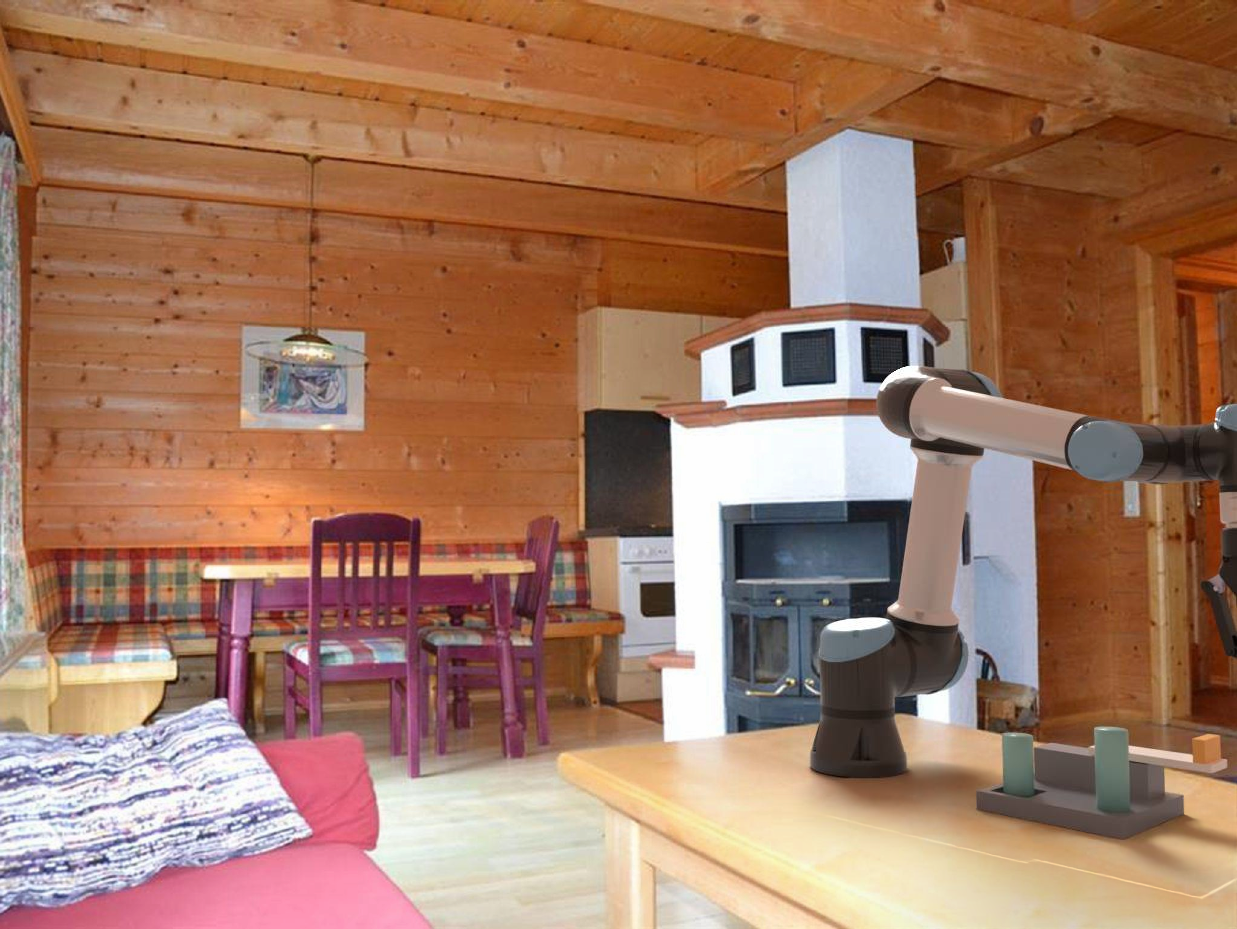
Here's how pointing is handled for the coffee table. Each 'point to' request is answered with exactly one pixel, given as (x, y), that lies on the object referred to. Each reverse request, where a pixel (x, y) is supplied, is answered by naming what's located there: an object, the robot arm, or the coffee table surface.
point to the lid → (1182, 755)
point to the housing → (1091, 789)
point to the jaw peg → (1018, 764)
